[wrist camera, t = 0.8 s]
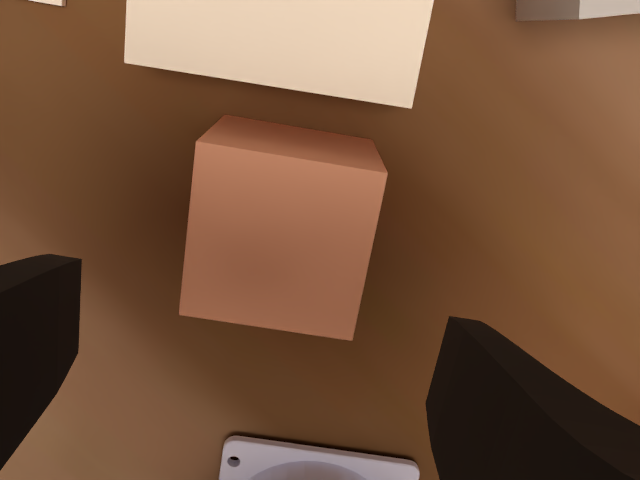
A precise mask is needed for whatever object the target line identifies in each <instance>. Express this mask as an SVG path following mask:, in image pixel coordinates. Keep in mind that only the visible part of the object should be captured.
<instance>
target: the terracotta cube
mask: <svg viewBox="0 0 640 480" xmlns="http://www.w3.org/2000/svg"><path fill="white" fill-rule="evenodd" d="M387 175H388V173H387V170H386V168H385V166H384V164H383V162H382V160H381V157H380V155H379V153H378V151H377V149H376V147H375V144H374V142H373V140H372V139H366V138H360V137H354V136H349V135H343V134H337V133H331V132H325V131H319V130H313V129H307V128H302V127H296V126H290V125H284V124H278V123H272V122H266V121H261V120H255V119H249V118H243V117H237V116H231V115H224V116H223V117H222V118H221V119H220V120H218V121H217V122H216V123H215V124H214V125H213V126H212V127H211V128H210V129H209V130H208V131H207V132H206V133H204V134H203V135H202V136H201V137H200V138H199V139H198V140H197V141H196V146H195V156H194V167H193V177H192V187H191V197H190V207H189V217H188V227H187V237H186V247H185V257H184V267H183V277H182V287H181V297H180V307H179V315H183V316H190V317H196V318H203V319H210V320H216V321H223V322H230V323H236V324H243V325H250V326H256V327H263V328H269V329H276V330H283V331H289V332H296V333H303V334H309V335H316V336H323V337H329V338H336V339H343V340H349V341H352V340H353V335H354V330H355V326H356V321H357V316H358V312H359V307H360V302H361V297H362V293H363V288H364V283H365V279H366V274H367V269H368V265H369V260H370V255H371V250H372V246H373V241H374V236H375V232H376V227H377V222H378V217H379V213H380V208H381V203H382V199H383V194H384V189H385V184H386V180H387Z"/></svg>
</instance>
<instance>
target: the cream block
mask: <svg viewBox="0 0 640 480" xmlns="http://www.w3.org/2000/svg"><path fill="white" fill-rule="evenodd" d="M433 2H434V0H127V6H126V30H125V54H124V63H128V64H135V65H141V66H147V67H154V68H160V69H166V70H172V71H179V72H185V73H191V74H197V75H204V76H210V77H216V78H223V79H229V80H235V81H241V82H248V83H254V84H260V85H267V86H273V87H279V88H285V89H292V90H298V91H304V92H311V93H317V94H323V95H329V96H336V97H342V98H348V99H355V100H361V101H367V102H373V103H380V104H386V105H392V106H398V107H405V108H411V109H412V105H413V100H414V95H415V90H416V85H417V80H418V75H419V70H420V65H421V61H422V56H423V51H424V46H425V41H426V36H427V31H428V26H429V21H430V16H431V12H432V7H433Z"/></svg>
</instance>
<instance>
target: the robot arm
mask: <svg viewBox="0 0 640 480" xmlns="http://www.w3.org/2000/svg"><path fill="white" fill-rule="evenodd" d="M81 264H82V259H78V258H72V257H65V256H59V255H52V254H46V255H39V256H34V257H30V258H26V259H22V260H18V261H15V262H11V263H7V264H4V265H0V470H1V469H2V468H3V466H4V465H5V464H6V462H7V461H8V459H9V458H10V457H11V455H12V454H13V453H14V451H15V450H16V449H17V447H18V446H19V445H20V443H21V442H22V441H23V439H24V438H25V437H26V435H27V434H28V433H29V431H30V430H31V428H32V427H33V426H34V424H35V423H36V422H37V420H38V419H39V417H40V416H41V415H42V413H43V412H44V411H45V409H46V408H47V406H48V405H49V404H50V402H51V401H52V399H53V398H54V397H55V395H56V394H57V392H58V390H59V388H60V387H61V385H62V383H63V381H64V379H65V377H66V376H67V374H68V372H69V370H70V368H71V366H72V364H73V362H74V360H75V358H76V356H77V354H78V346H79V319H80V291H81ZM426 411H427V420H428V429H429V436H430V443H431V449H432V452H433V456H434V460H435V464H436V467H437V471H438V474H439V478H440V480H640V426H639V425H637V424H635V423H633V422H632V421H630V420H628V419H626V418H624V417H623V416H621V415H619V414H617V413H616V412H614V411H612V410H610V409H609V408H607V407H605V406H604V405H602V404H600V403H599V402H597V401H596V400H594V399H593V398H591V397H589V396H588V395H586V394H585V393H583V392H582V391H580V390H579V389H577V388H576V387H574V386H573V385H571V384H570V383H568V382H567V381H565V380H564V379H562V378H561V377H560V376H558V375H557V374H555V373H554V372H552V371H551V370H550V369H548V368H547V367H545V366H544V365H543V364H541V363H540V362H539V361H537V360H536V359H534V358H533V357H532V356H530V355H529V354H528V353H526V352H525V351H524V350H522V349H521V348H520V347H518V346H517V345H516V344H514V343H513V342H511V341H510V340H509V339H507V338H506V337H505V336H503V335H502V334H500V333H499V332H497V331H496V330H494V329H493V328H491V327H490V326H488V325H487V324H485V323H483V322H481V321H477V320H471V319H464V318H458V317H451V316H449V319H448V323H447V326H446V330H445V334H444V337H443V341H442V345H441V348H440V352H439V356H438V359H437V363H436V367H435V371H434V374H433V378H432V382H431V385H430V389H429V393H428V396H427V400H426ZM232 456H235V457H238V458H239V460H232V459H231V458H230V457H232ZM419 473H420V472H419V468H418V466H417V464H416V463H415V462H414V461H411V460H407V459H400V458H393V457H386V456H379V455H372V454H365V453H358V452H350V451H343V450H336V449H329V448H322V447H315V446H308V445H301V444H294V443H287V442H280V441H273V440H265V439H258V438H251V437H244V436H231V437H229V438H228V439H227V440H226V441H225V443H224V447H223V453H222V460H221V467H220V474H219V480H419Z"/></svg>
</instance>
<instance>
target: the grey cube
mask: <svg viewBox="0 0 640 480" xmlns="http://www.w3.org/2000/svg"><path fill="white" fill-rule="evenodd" d="M637 13H640V0H516V21H540V20H572V19H587V18H597V17H607V16H617V15H627V14H637Z"/></svg>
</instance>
